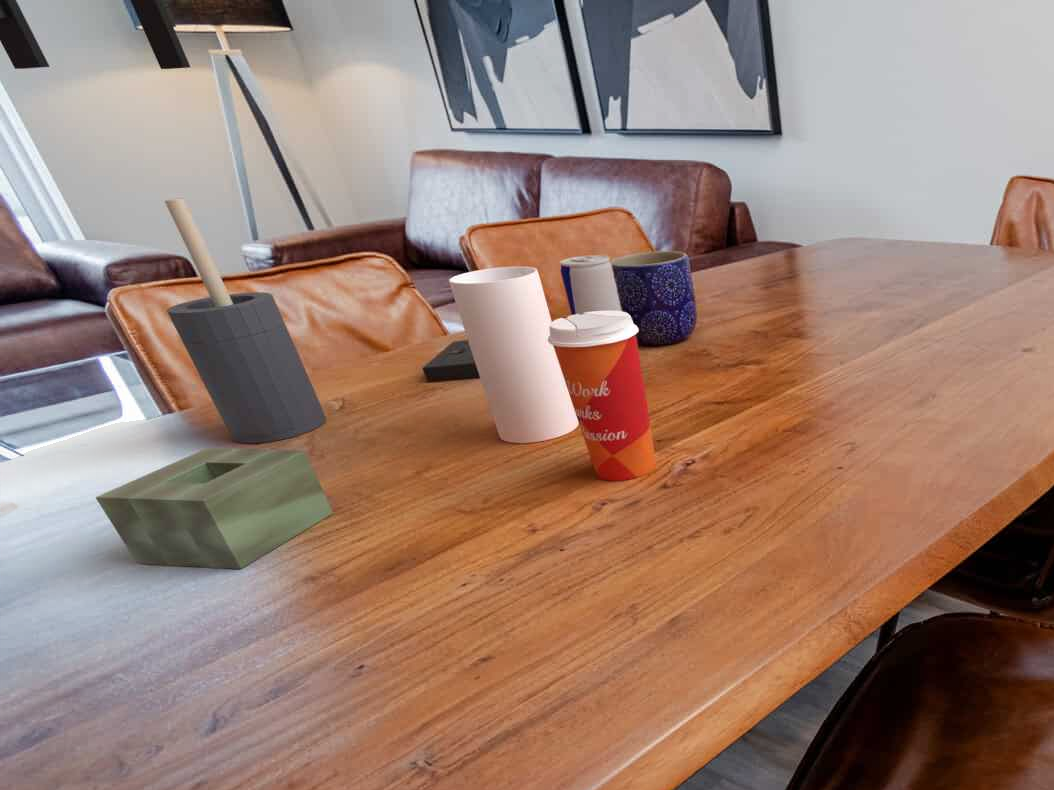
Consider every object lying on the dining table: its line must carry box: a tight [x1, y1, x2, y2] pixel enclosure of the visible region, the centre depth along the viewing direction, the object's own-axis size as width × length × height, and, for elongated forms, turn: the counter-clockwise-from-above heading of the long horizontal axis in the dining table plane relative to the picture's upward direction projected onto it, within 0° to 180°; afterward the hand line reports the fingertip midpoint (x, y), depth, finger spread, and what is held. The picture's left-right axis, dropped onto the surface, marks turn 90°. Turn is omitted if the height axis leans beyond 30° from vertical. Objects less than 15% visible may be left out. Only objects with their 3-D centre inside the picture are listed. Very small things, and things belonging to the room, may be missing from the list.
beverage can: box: [559, 254, 622, 315], centre depth 97 cm, size 6×6×15 cm
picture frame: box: [422, 339, 480, 383], centre depth 113 cm, size 13×2×18 cm
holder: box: [95, 448, 334, 570], centre depth 69 cm, size 10×10×6 cm
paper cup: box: [548, 311, 657, 482], centre depth 75 cm, size 8×8×14 cm
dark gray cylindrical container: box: [166, 291, 327, 445], centre depth 90 cm, size 9×9×14 cm
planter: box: [609, 250, 698, 347], centre depth 116 cm, size 11×11×11 cm
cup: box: [448, 266, 579, 444], centre depth 85 cm, size 8×8×16 cm
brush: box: [164, 197, 233, 307], centre depth 87 cm, size 3×3×23 cm
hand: (109, 68), depth 75 cm, fingers open, 13 cm apart
